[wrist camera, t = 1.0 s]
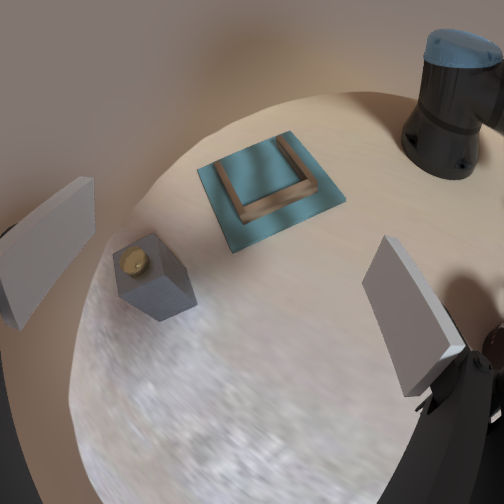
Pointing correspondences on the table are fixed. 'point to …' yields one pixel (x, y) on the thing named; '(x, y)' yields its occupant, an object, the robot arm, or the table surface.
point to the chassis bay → (267, 189)
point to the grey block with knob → (153, 279)
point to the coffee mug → (495, 347)
